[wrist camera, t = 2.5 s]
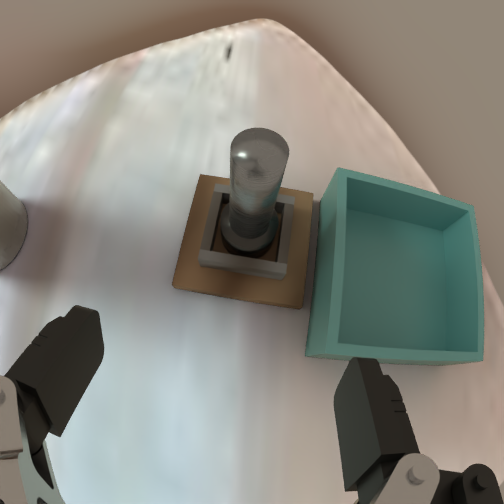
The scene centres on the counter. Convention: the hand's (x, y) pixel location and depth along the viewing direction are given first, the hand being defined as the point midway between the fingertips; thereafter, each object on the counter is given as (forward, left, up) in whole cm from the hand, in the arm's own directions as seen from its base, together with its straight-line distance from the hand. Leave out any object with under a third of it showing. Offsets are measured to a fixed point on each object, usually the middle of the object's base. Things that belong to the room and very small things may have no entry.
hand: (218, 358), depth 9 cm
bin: (+14, +9, -17) cm, 24 cm away
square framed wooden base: (0, +11, -17) cm, 20 cm away
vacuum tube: (0, +11, -16) cm, 19 cm away
